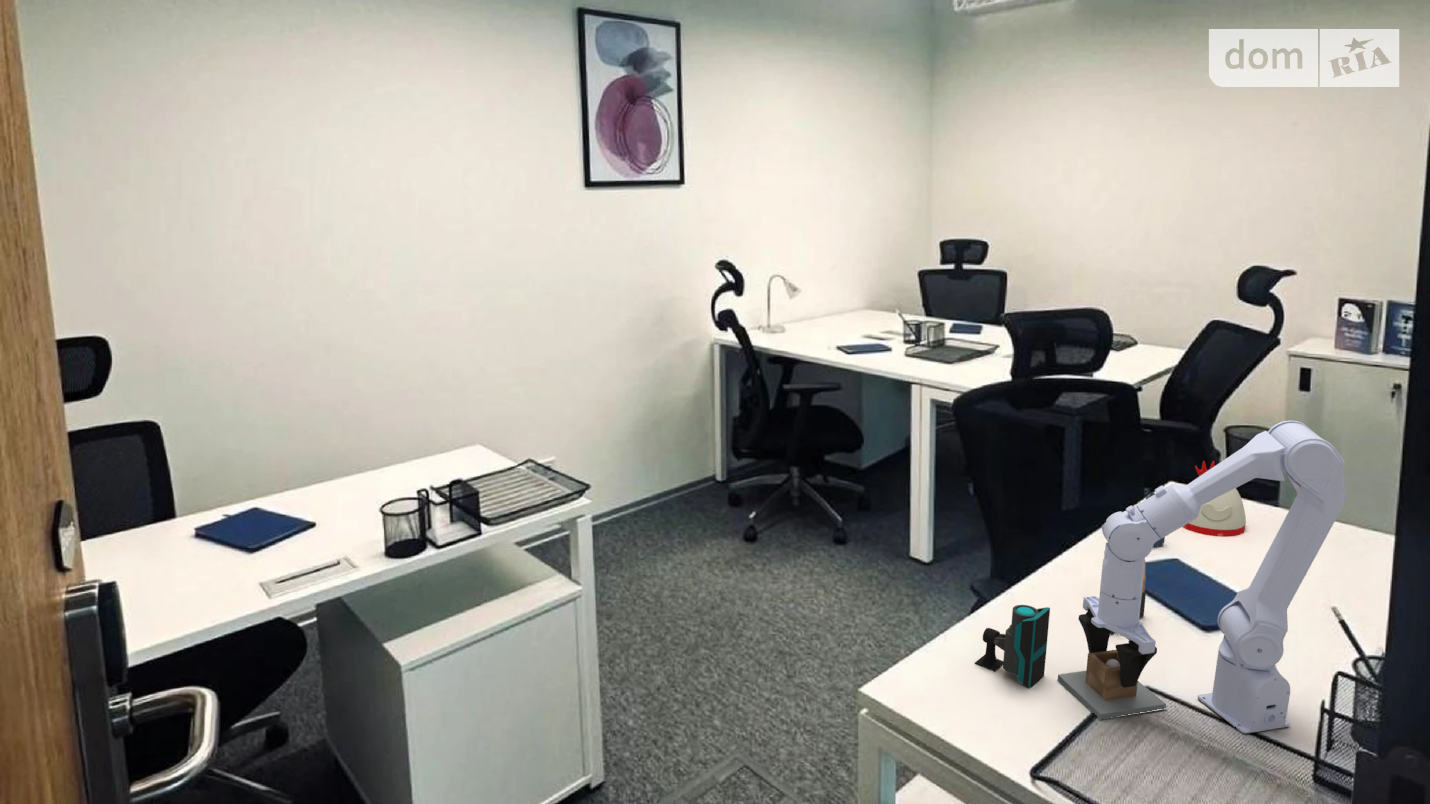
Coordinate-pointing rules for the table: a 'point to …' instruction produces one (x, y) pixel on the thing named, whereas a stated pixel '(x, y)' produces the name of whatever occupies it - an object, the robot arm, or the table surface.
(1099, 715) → the gray peg stand
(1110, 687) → the walnut frame
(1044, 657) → the surveillance camera
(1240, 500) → the kitchen timer
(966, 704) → the table surface
